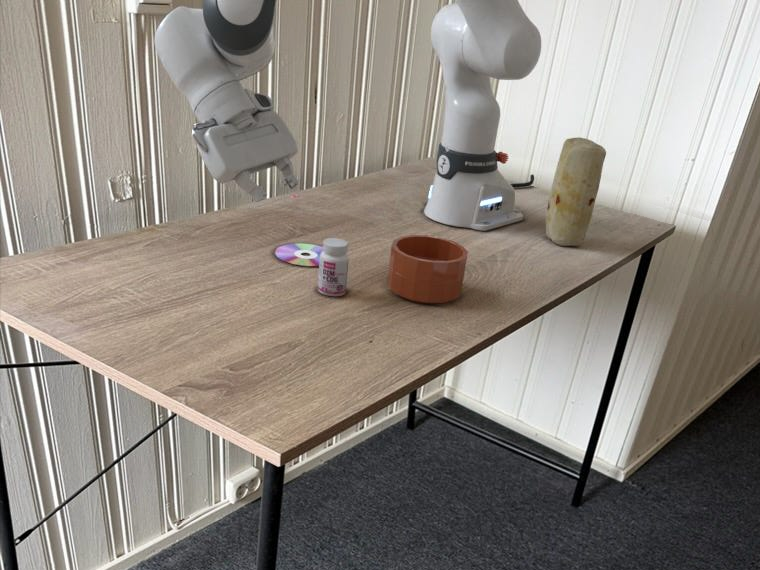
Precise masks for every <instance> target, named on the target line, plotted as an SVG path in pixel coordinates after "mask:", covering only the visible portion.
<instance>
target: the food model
mask: <svg viewBox="0 0 760 570" xmlns="http://www.w3.org/2000/svg"><path fill="white" fill-rule="evenodd" d="M606 155H607V151H606V149H605V147H603V146H602V145H600V144H598V143H596V142H594V141H593V140H591V139H588V138H584V137H571V138H566V139H565V140H564V142H563V144H562V148H561V151H560V154H559V157H558V161H557V165H556V169H555V173H554V176H553V181H552V185H551V189H550V193H549V198H548V204H547V209H546V216H545V234H546V237H547V238H548V239H551V241H552V243H553V244H556V245H557V246H561V247H566V246H575V247H576V246H577V247H579V246H581V245H583V244H584V243H585V240H586V235H587V232H588V228H589V226H590V223H591V220H592V217H593V212H594V207H595V203H596V199H597V196H598V192H599V189H600V184H601V179H602V172H603V167H604V162H605V159H606Z"/></svg>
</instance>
